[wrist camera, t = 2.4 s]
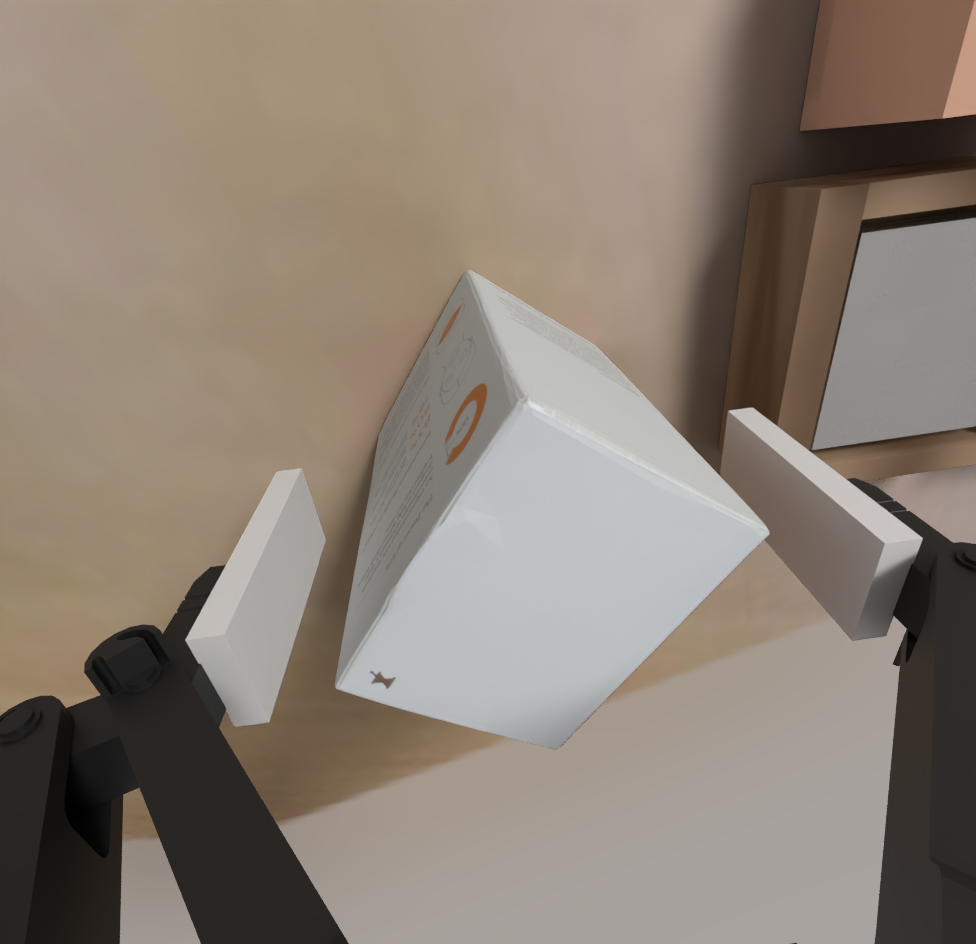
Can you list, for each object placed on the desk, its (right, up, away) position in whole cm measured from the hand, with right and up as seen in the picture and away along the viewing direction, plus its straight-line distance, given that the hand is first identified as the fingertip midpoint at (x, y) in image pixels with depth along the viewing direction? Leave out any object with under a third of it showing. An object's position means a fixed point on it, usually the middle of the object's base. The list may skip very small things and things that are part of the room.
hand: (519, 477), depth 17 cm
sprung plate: (+15, +6, +4) cm, 16 cm away
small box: (-1, +4, +6) cm, 7 cm away
